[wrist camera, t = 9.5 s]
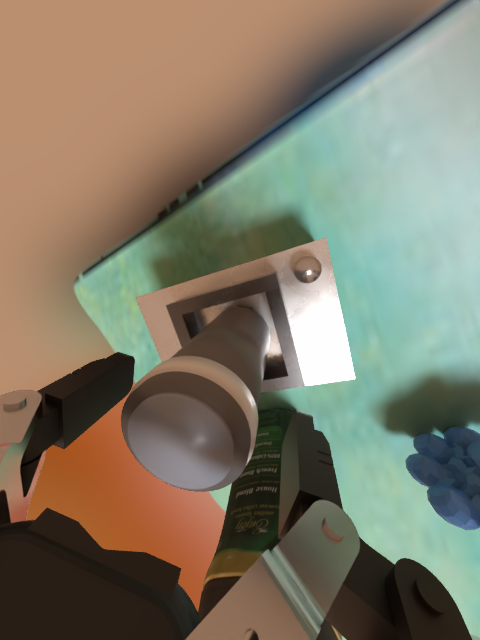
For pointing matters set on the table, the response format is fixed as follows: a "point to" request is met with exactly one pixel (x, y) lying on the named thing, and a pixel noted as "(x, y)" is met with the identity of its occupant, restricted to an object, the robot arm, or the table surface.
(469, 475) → the grapes
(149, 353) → the table surface
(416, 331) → the table surface
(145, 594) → the robot arm
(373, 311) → the table surface
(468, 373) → the table surface
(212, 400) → the flashlight
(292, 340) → the box with square recess
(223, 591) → the coffee jar
